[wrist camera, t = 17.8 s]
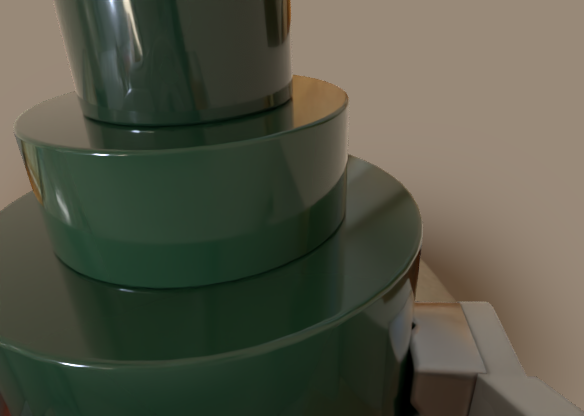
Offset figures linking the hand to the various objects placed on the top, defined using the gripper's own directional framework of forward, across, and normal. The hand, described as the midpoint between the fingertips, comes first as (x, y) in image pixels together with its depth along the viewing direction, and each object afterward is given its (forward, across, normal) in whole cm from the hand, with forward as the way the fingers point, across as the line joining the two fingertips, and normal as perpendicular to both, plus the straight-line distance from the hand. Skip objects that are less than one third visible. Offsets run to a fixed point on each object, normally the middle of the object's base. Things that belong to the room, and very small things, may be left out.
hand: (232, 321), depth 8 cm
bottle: (-1, 0, +10) cm, 10 cm away
